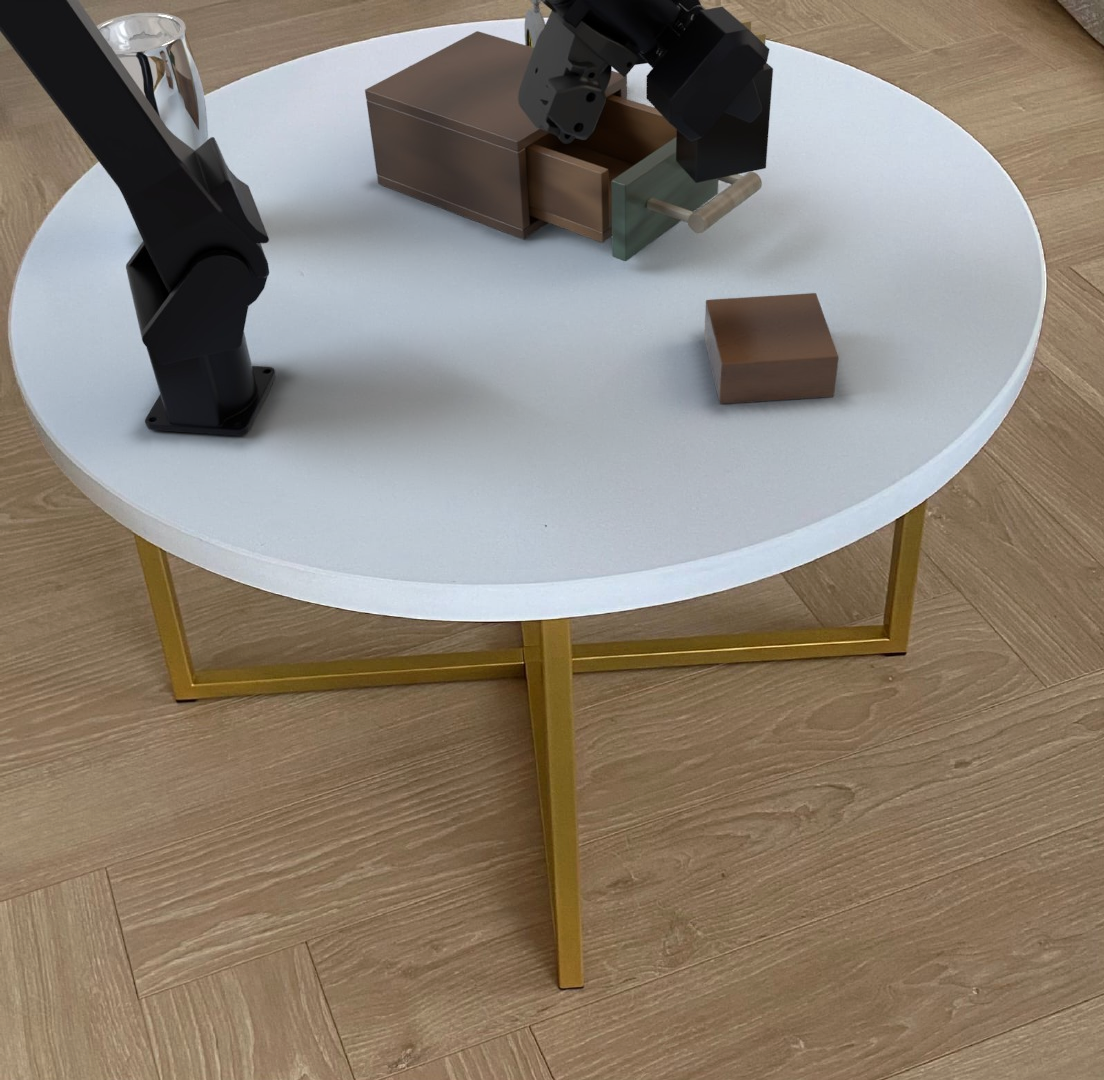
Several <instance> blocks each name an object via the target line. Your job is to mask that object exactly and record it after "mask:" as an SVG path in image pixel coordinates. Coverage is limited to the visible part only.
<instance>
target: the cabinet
mask: <svg viewBox="0 0 1104 1080" xmlns="http://www.w3.org/2000/svg"><path fill="white" fill-rule="evenodd" d="M533 50H534V48H533V47H530V46H526V45H525V44H522V43H519V42H516V41H512V40H509V39H506V38H503V37H499V36H496V35H492V34H488V33H485V32H481V31H478V30H477V31H474V32H473V33H470V34H469V35H467V36H465V37H463V38H461V39H459V40H457V41H456V42H453V43H452V44H449V45H448V46H446V47H444V48H442V49H440V50H438V51H436V52H434V53H432V54H430V55H428V56H426V57H425V58H423V59H420V60H419V61H417V62H416V63H413V64H410V65H409V66H407V67H406V68H404V69H402V70H400V71H398V72H396V73H394V74H392V75H391V76H388V77H386V78H384V79H382V80H381V81H379V82H376V83H374V84H373V85H371V86H370V87H368V88H365V89H364V93H365V100H366V107H367V115H368V121H369V129H370V136H371V144H372V150H373V158H374V165H375V172H376V178H377V184H378V185H381V186H383V187H386V188H388V189H390V190H394V191H396V192H399V193H402V194H404V195H406V196H409V197H411V198H414V199H417V200H420V201H422V202H425V203H427V204H430V205H432V206H435V207H437V208H441V209H443V210H446V211H448V212H451V213H453V214H456V215H457V216H461V217H463V218H467V219H468V220H472V221H475V222H476V223H479V224H481V225H485V226H488V227H490V228H492V229H494V230H498V231H500V232H503V233H505V234H508V235H511V236H513V237H515V238H519V239H521V240H525V239H527V238H528V237H530V236H532V235H533V234H534V233H536V232H537V231H539V230H540V229H542V228H543V227H544V226H546V225H547V224H549V223H548V222H546V221H543V220H540V219H538V218H535V217H532V216H529V205H528V188H527V171H526V154H525V147H527V146H529V145H530V144H532V143H534V142H535V141H537V140H539V139H540V138H542V137H543V136H545V135H547V134H548V133H549V132H547V131H546V130H543V129H539V128H536V127H535V125H534V124H533V123H532V122H531V120H530V119H529V118H528V116H527V115H526V114H525V112H524V111H523V110H522V108H521V107H520V105H519V102H518V93H519V88H520V85H521V82H522V79H523V77H524V74H525V71H526V69H527V66H528V63H529V61H530V58H531V55H532V53H533ZM610 95H615V96H618V97H621V98H625V99H628V74H627V75H626V76H625V77H623V76H622V75H621V74H620V73H619V72H617V71H615V70H612V72H611V78H610V81H609V84H608V86H607V89H606V91H605V96H606V98H607V97H608V96H610Z"/></svg>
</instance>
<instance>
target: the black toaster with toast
mask: <svg viewBox="0 0 1104 1080" xmlns="http://www.w3.org/2000/svg"><path fill="white" fill-rule="evenodd" d="M739 21H740V22H741V23H742V24H743V25H744V26H745V27H747V28H748V29H749V30H750V31H751V32H752V20H751V19H745V20H739ZM753 34H754V35H755V36H756V37H757V38H758V39H759V40H760V41H761V42H762V43H764V44H765V45H766V41H767V33H766V32H765V31H762V32H757V33H753ZM773 77H774V68H773V67H772V66H771V65H770V64H768V63H767V62H766V64H765V65H764V66H763V67H762V68H761V69H760V71H759V72H758V73H757V74H756V75H755V76H754V78H753V80H754V83H755V86H756V90H757V93H758V96H759V99H760V103H761V106H762V111H761V113H760V114H759V115H758V116H757V117H756V118H755V120H754V121H753V122H751V123H748V122H746V121H744V120H742V119H739V118H737V117H735V116H732V115H730V114H728V113H726V112H724V113H723V114H722V115H721V116H720V117H719V119H718V120H717V121H716V122H715V123H714V124H713V126H712V127H711V128H710V129H709V130H708V131H707V133H706V134H705V135H704V136H703V137H702V138H700V139H697V140H694V141H690V140H689V139H688V138H686V137H685V136H684V135H683V134H682V133H680V132H679V131H678V130H677V138H676V161H677V162H678V164H679V165H680V166H681V167H682V168H683V169H684V170H685V171H686V173H687V174H688V175H689V176H690V177H691V178H692V179H693V180H694V181H695V183H698V182H703V181H708V180H713V179H717V178H722V177H727V176H732V175H736V174H738V175H741V174H747V173H749V172H755V171H759V170H760V171H761V170H764V169H767V158H768V146H769V145H768V144H769V132H770V131H769V130H770V118H771V117H770V116H771V104H772V103H771V102H772V90H773V89H772V88H773Z"/></svg>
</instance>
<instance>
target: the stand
mask: <svg viewBox="0 0 1104 1080" xmlns="http://www.w3.org/2000/svg"><path fill="white" fill-rule="evenodd" d="M817 294H818V293H816V292H811V293H810V292H807V293H794V294H793V293H792V294H791V293H790V294H778V295H777V294H776V295H761V296H747V297H731V298H730V297H729V298H715V299H713V298H712V299H706V300H705V312H704V313H705V314H704V315H705V316H704V334H703V335H704V337H703V339H704V343H705V347H706V351H707V356H708V360H709V365H710V370H711V373H712V377H713V381H714V386H715V390H716V394H717V395H716V396H717V398H718V399H717V400H718V403H719V404H720V405H726V404H738V403H739V404H740V403H742V404H743V403H754V402H757V403H758V402H770V401H771V402H772V401H787V400H800V399H801V400H802V399H803V400H804V399H816V398H817V399H819V398H832V397H833V398H834V396H835V390H836V382H837V374H838V366H839V354H838V351H837V348H836V345H835V342H834V339H833V337H832V334H831V331H830V329H829V325H828V323H827V320H826V317H825V314H824V311H823V309H822V306H821V303H820V300H819V297H818V295H817Z"/></svg>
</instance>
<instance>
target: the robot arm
mask: <svg viewBox="0 0 1104 1080" xmlns="http://www.w3.org/2000/svg"><path fill="white" fill-rule="evenodd" d="M541 2H542V3H543V4H544V5H545V6H546V7H547V8H549V10H550V11H551V12H550V13H549V16H548V18H547V20H546V22H545V27H544V29H543V30H542V31H541V33H540V35H539V37H538V39H537V42H536V44H535V47H534V50H533V53H532V55H531V58H530V61H529V63H528V66H527V69H526V71H525V74H524V77H523V79H522V82H521V85H520V88H519V93H518V102H519V105H520V107H521V108H522V110H523V111H524V112H525V114H526V115H527V116H528V118H529V119H530V120H531V122H532V123H533V124H534V125H535V127H536V128H539V129H543V130H546V131H547V132H549V133H552V134H554V135H556V136H557V137H558V138H559V139H560V140H561V142H562V143H564V144H569V143H571V142H572V141H573V140H574V139H575V138H578V139H581V140H585V139H587V138H588V137H589V136H590V135H591V134H592V133H593V131H594V129H595V126H596V124H597V122H598V119H599V117H600V114H601V112H602V109H603V107H604V104H605V102H606V96H605V91H606V89H607V86H608V84H609V81H610V78H611V72H612V71H613V69H614V71H615V72H618V73H620V74H621V75H622V76H623V77H625V76H626V75H627V76H628V74H629V73H630V72H631V71H632V69H633V68H634V67H635V66H638V65H645V64H648V65H649V66H650V67H651V69H650V71H649V72H648V73H647V75H646V82H645V83H646V86H645V87H646V92H645V93H646V94H645V95H646V96H645V99H646V100H647V101H648V102H649V103H650V104H651V105H652V107H654V108H656V109H657V110H658V111H659V112H660V114H661V115H662V116H663V117H664V118H665V119H666V120H667V121H668V122H669V123H670V124H671V125H672V126H673V127H674V128H676V129H677V130H678V131H679V132H680V133H682V134H683V135H684V136H685V137H686V138H688V139H689V140H690V141H694V140H697V139H700V138H702V137H703V136H704V135H705V134H706V133H707V131H708V130H709V129H710V128H711V127H712V126H713V124H714V123H715V122H716V121H717V120H718V119H719V117H720V116H721V115H722V114H723V113H724V112H726V113H728V114H730V115H732V116H735V117H737V118H739V119H742V120H744V121H746V122H748V123H751V122H753V121H754V120H755V118H756V117H757V116H758V115H759V114H760V113H761V111H762V106H761V103H760V99H759V96H758V93H757V90H756V86H755V83H754V80H753V78H754V76H755V75H756V74H757V73H758V72H759V71H760V69H761V68H762V67H763V66H764V65H765V64H766V63H767V62H768V58H769V54H770V47H768V46H767V44H766V43H765V44H764V43H762V42H761V41H760V40H759V39H758V38H757V37H756V36H755V35H754V34H755V33H753V32H752V30H751V31H750V30H749V29H748V28H747V27H745V26H744V25H743V24H742V23H741V22H740V21H741V20H739V19H737V18H736V17H735V15H733V14H732V13H730V11H728V10H727V9H726V8H725V7H723V6H717V7H712V8H707V9H706V8H705V7H704V6H703V5H702V4H701V1H700V0H541ZM0 33H1V34H2V36H3V37H4V38H5V40H6V41H7V43H9V45H10V47H12V49H13V50H14V52H15V53H16V54H17V56H18V57H19V58H20V59H21V61H22V62H23V63H24V65H25V66H26V68H28V70H29V71H30V73H31V74H32V75H33V77H34V78H35V79H36V81H37V82H38V83H39V85H40V86H41V88H43V90H44V91H45V93H46V94H47V95H48V96H49V98H50V99H51V100H52V102H53V103H54V105H55V106H56V107H57V108H58V109H59V111H60V112H61V113H62V115H63V116H64V118H65V119H66V121H68V123H69V124H70V125H71V127H72V128H73V129H74V131H75V132H76V133H77V135H78V136H79V137H80V139H81V140H82V141H83V143H84V144H85V145H86V147H87V148H88V149H89V150H90V152H91V153H92V155H93V156H94V157H95V158H96V160H97V161H98V162H99V164H100V165H101V166H102V168H103V169H104V170H105V172H106V173H107V174H108V176H109V177H110V178H111V180H112V181H113V182H114V184H115V185H116V186H117V187H118V189H119V191H120V193H121V196H122V197H123V199H124V201H125V203H126V205H127V208H128V210H129V213H130V215H131V217H132V219H133V222H134V223H135V226H136V228H137V230H138V232H139V235H140V238H141V239H142V242H141V243H140V245H139V246H138V248H137V249H135V252H134V253H133V254H132V255H131V257H130V258H129V260H128V261H127V263H126V265H125V271H126V274H127V280H128V283H129V288H130V293H131V297H132V301H133V306H134V310H135V314H136V319H137V324H138V329H139V332H140V337H141V341H142V344H143V345H144V346H145V347H146V351H147V354H148V358H149V361H150V364H151V368H152V371H153V375H154V377H155V382H156V385H157V388H158V391H159V395H158V397H157V399H156V400H155V402H154V404H153V405H152V407H151V409H150V410H149V412H148V414H147V415H146V416H145V419H144V424H145V426H146V427H145V428H147V429H148V430H149V431H150V430H151V431H162V432H163V431H164V432H178V433H194V434H208V435H223V436H224V435H226V436H244V435H246V434H248V432H249V431H250V430H251V427H252V425H253V423H254V421H255V419H256V418H257V415H258V413H259V411H260V409H261V407H262V405H263V403H264V402H265V399H266V397H267V396H268V393H269V391H270V390H271V387H272V385H273V383H274V381H275V379H276V378H277V375H276V374H277V373H276V370H275V368H274V367H271V366H262V365H261V366H260V365H259V366H258V365H253V363H252V360H251V355H250V352H249V347H248V343H247V342H248V341H247V339H246V334H245V327H246V322H247V321H246V320H247V316H248V310H249V307H250V306H251V305H252V304H254V303H255V302H256V301H257V299H259V297H260V295H261V294H262V292H263V291H264V289H265V287H266V284H267V280H268V277H269V275H270V268H269V262H268V259H267V257H266V254H265V251H264V249H263V246H262V244H267V243H268V242H269V241H270V238H269V235H268V233H267V229H266V228H265V225H264V222H263V220H262V216H261V214H260V212H259V210H258V207H257V204H256V202H255V198H254V197H253V194H252V192H251V189H250V186H249V185H248V184H247V183H245V182H244V181H242V180H241V179H239V178H238V177H237V176H236V175H235V174H234V172H232V170H231V169H230V168H229V166H228V165H227V162H226V161H225V158H224V156H223V153H222V151H221V149H220V147H219V144H218V142H217V140H216V138H215V137H214V136H212V137H209V138H208V140H207V141H206V142H205V143H204V144H202V145H201V146H200V147H199V148H198V149H196V150H193V149H192V148H191V147H189V146H188V145H187V144H185V143H184V142H183V141H181V140H180V139H179V138H177V137H176V136H175V135H174V134H173V133H172V132H171V131H170V130H169V129H168V128H167V127H166V125H165V124H164V123H163V121H162V120H161V118H160V117H159V115H158V114H157V113H156V111H155V110H154V108H153V107H152V105H151V104H150V102H149V101H148V100H147V98H146V97H145V95H144V94H143V92H142V91H141V90H140V88H139V87H138V85H137V84H136V82H135V81H134V80H133V78H132V77H131V75H130V74H129V72H128V71H127V69H126V68H125V67H124V65H123V64H122V62H121V61H120V59H119V58H118V57H117V55H116V54H115V52H114V51H113V49H112V48H111V47H110V45H109V44H108V42H107V41H106V39H105V38H104V36H103V35H102V34H101V32H100V31H99V29H98V28H97V25H96V24H95V22H94V20H93V19H92V18H91V16H90V15H89V14H88V12H87V11H86V9H85V8H84V6H83V5H82V3H81V2H80V1H79V0H0ZM612 68H613V69H612Z"/></svg>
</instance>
